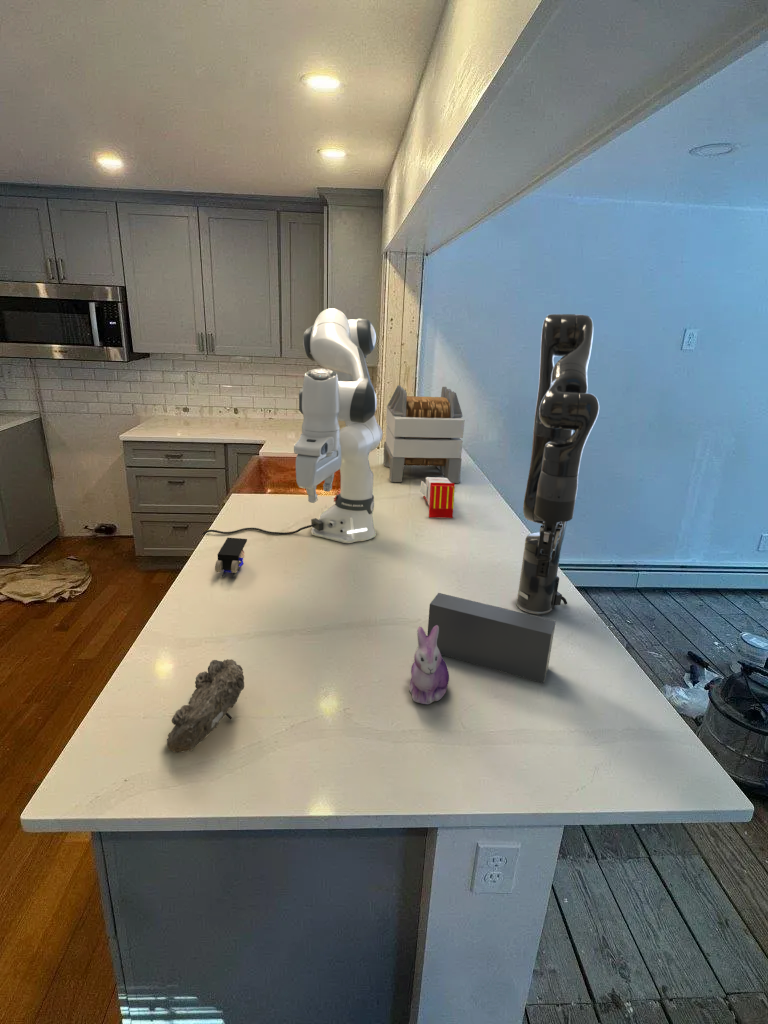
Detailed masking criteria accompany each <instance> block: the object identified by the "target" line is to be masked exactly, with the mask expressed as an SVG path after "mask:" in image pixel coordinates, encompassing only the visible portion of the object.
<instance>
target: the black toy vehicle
mask: <svg viewBox="0 0 768 1024" xmlns="http://www.w3.org/2000/svg"><path fill="white" fill-rule="evenodd" d="M247 542H248V538H240V537H226V539H225V541H224V543H223V544H222V546H221V547H220V549H219V551H218V552H217V560H216V562H215V564H214V572H215V573H221V577H222V578H224V577H225V576H226V574H227V573H230V574H231V573H232V574H231V578H234V577H235V575H236V573H237V572H239V571H240V567H242V566H243V565H244V564H245V562H244V558H245V551H244V547H245V546H246V544H247Z"/></svg>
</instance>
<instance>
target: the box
mask: <svg viewBox="0 0 768 1024" xmlns="http://www.w3.org/2000/svg"><path fill="white" fill-rule="evenodd" d="M428 611H429V612H428V621H427V634H426V635H427V636H429V634H430V632H431V630H432V629H433V627H434V626H436V625H438V627H439V633H438V638H437V647H438V649H439V651H440V653H441V656H445V657H448V658H452V659H455V660H458V661H461V662H466V663H468V664H473V665H476V666H480V667H484V668H487V669H491V670H494V671H496V672H497V671H498V672H501V673H505V674H508V675H512V676H516V677H519V678H522V679H525V680H530V681H533V682H537V683H540V684H545V680H546V677H547V674H548V669H549V664H550V660H551V659H550V658H551V654H552V653H551V652H552V646H553V641H554V634H555V629H556V622H557V620H554V619H549V618H547V617H541V616H539V615H538V616H537V615H534V614H530V613H526V612H520V611H516V610H513V609H508V608H503V607H500V606H495V605H491V604H488V603H484V602H479V601H475V600H471V599H466V598H463V597H459V596H455V595H449V594H447V593H441V592H437V594H436V595H435V597H434V598H433V599H432V600H431V602H430V603H429V609H428Z"/></svg>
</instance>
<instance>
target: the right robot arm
mask: <svg viewBox="0 0 768 1024" xmlns="http://www.w3.org/2000/svg"><path fill="white" fill-rule="evenodd" d="M540 335H541V336H540V351H539V353H540V355H539V372H538V373H539V374H538V375H539V376H538V377H539V378H538V389H537V395H536V396H537V397H536V404H535V410H534V411H535V412H534V419H533V430H532V445H531V455H530V464H529V471H528V476H527V482H526V485H525V486H526V487H525V493H524V498H523V504H522V505H523V507H522V510H523V511H522V512H523V516H524V519H526V520H527V521H529V522H532V523H536V524H539V525H540V528H539V531H536V532H531V533H529V534H528V535H527V536H526V537H525V540H524V548H523V555H522V561H521V562H522V563H521V568H520V569H521V570H520V577H519V583H518V591H517V598H516V601H515V603H516V606H517V608H518V609H519V610H521V611H523V612H524V613H526V614H529V615H536V616H537V615H538V616H542V615H547V614H549V613H551V612H552V610H555V608H556V607H557V606H561V604H562V602H563V604H564V605H568V601H567V599H566V598H565V597H564V596H563V594H562V593H561V592H560V591H558V589H559V583H560V577H559V576H558V570H559V564H560V559H561V552H562V546H563V543H564V538H565V534H566V530H567V529H566V528H567V524H568V522H570V521H571V520H572V519H573V518H574V512H575V507H576V501H577V494H578V487H579V473H580V467H581V461H582V456H583V452H584V448H585V445H586V443H587V441H588V438H589V436H590V434H591V432H592V430H593V427H594V426H595V424H596V421H597V419H598V417H599V413H600V403H599V400H598V398H597V396H595V394H593V393H591V392H590V393H589V392H588V389H589V386H588V385H589V384H588V367H589V362H590V359H591V354H592V347H593V340H594V322H593V319H592V317H591V316H589V315H588V314H581V313H580V314H579V313H576V314H575V313H550V314H547V315H546V317H545V318H544V320H543V323H542V327H541V333H540ZM555 357H560V359H558V361H557V362H556V363H555V361H554V358H555Z"/></svg>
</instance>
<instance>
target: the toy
mask: <svg viewBox="0 0 768 1024" xmlns="http://www.w3.org/2000/svg"><path fill="white" fill-rule="evenodd" d="M455 488H456V486H455V483H451V482H450V481H449V480H448V479H447V478H444V477H436V476H435V477H434V476H425V482H424V481H423V480H421V481H420V491H419V492H420V493H421V494H422V495H423V499H424V500H425V501H426V503H427V504H428V518H434V519H435V518H436V519H437V518H438V519H453V517H454V506H455V504H454V503H455Z"/></svg>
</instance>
